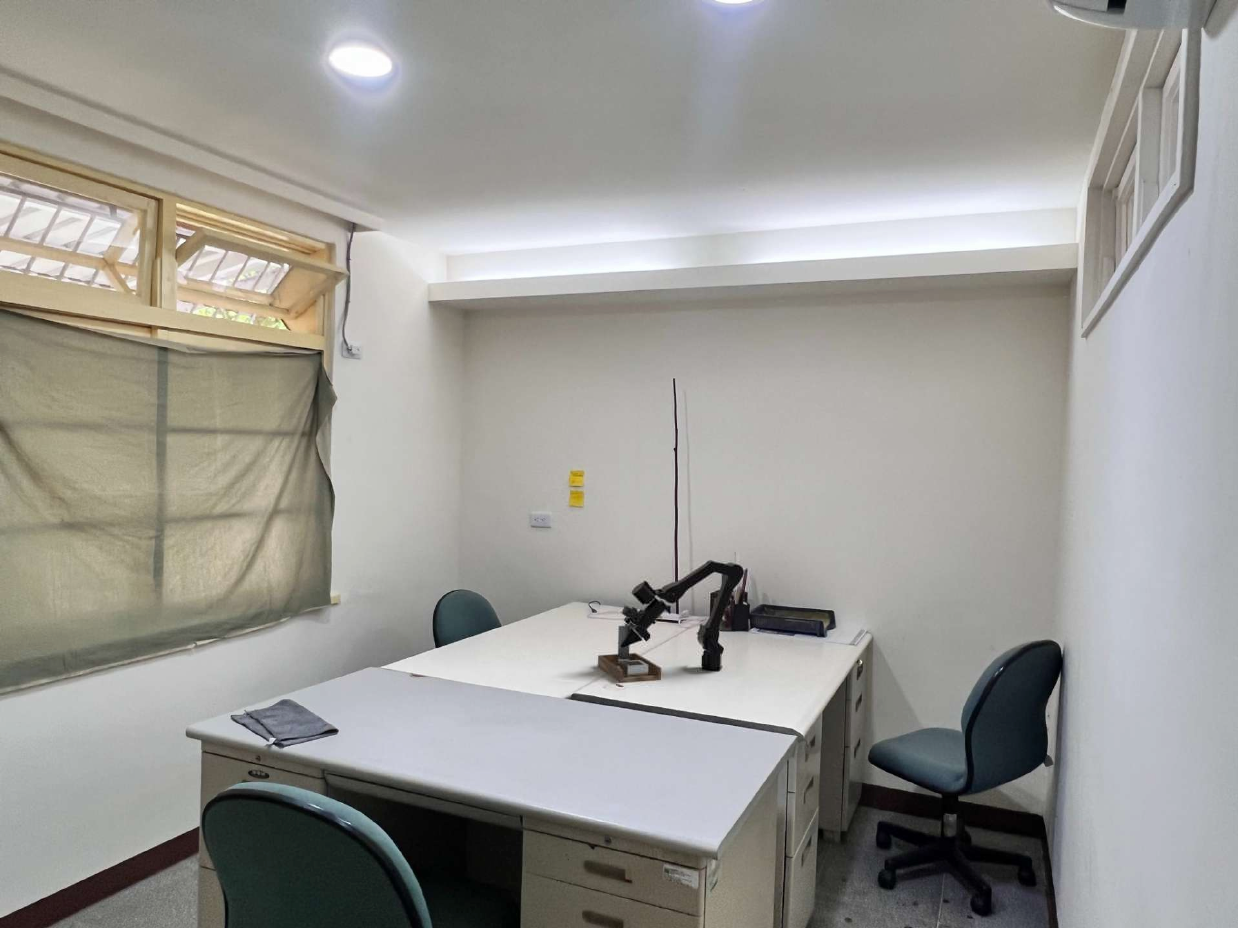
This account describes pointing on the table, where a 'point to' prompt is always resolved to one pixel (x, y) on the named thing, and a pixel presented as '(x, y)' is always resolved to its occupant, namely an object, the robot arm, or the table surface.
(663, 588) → the robot arm
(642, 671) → the frame
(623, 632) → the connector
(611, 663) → the box
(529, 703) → the table surface
